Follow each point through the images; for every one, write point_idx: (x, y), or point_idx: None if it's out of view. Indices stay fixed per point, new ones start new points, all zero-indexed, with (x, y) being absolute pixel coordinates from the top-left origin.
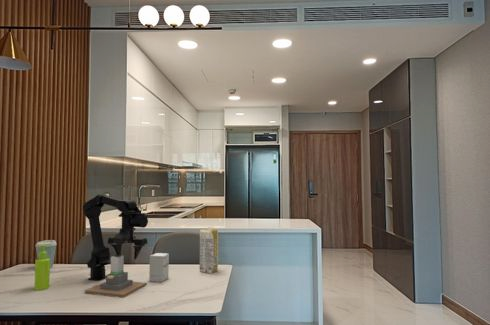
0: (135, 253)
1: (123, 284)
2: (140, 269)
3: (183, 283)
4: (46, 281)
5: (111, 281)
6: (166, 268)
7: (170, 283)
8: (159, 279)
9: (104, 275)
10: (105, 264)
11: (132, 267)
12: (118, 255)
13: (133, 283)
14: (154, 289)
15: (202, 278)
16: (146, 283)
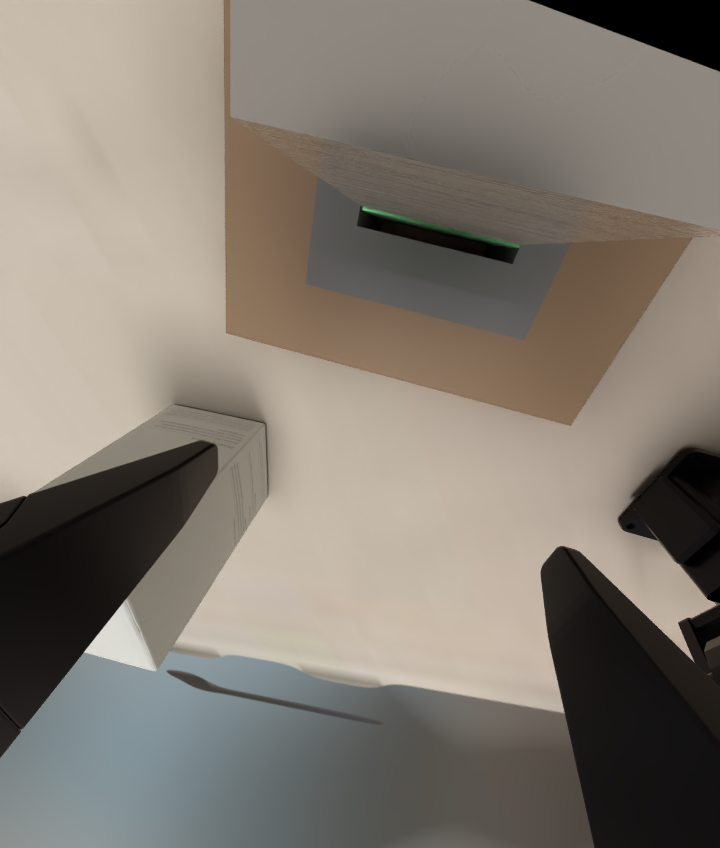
0: (62, 495)
1: None
2: (418, 631)
3: (42, 376)
4: None
5: None
6: None
7: (111, 376)
8: (183, 414)
9: (648, 509)
10: (707, 619)
11: (476, 665)
12: (571, 122)
13: (320, 305)
14: (120, 215)
15: (22, 464)
16: (229, 330)
